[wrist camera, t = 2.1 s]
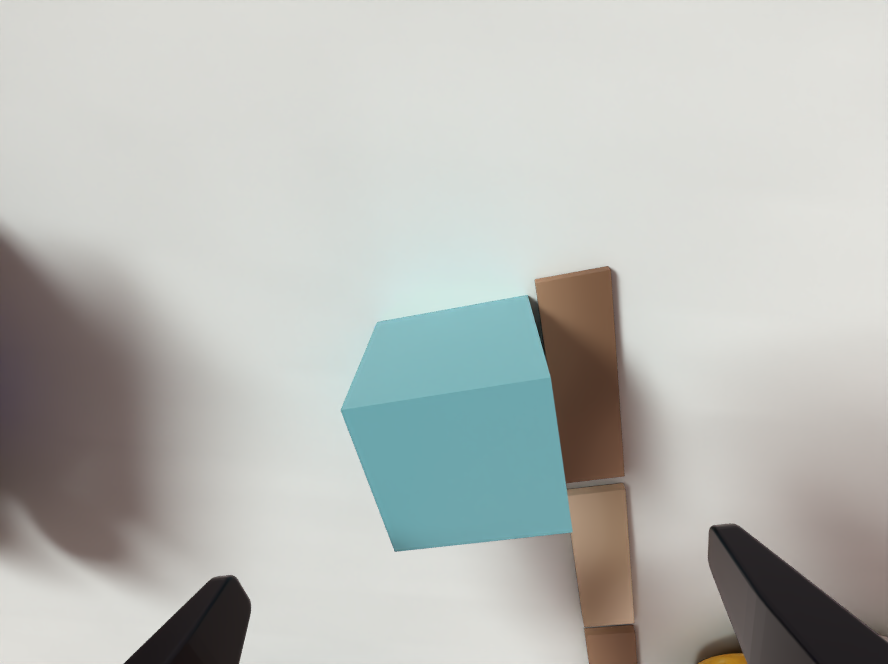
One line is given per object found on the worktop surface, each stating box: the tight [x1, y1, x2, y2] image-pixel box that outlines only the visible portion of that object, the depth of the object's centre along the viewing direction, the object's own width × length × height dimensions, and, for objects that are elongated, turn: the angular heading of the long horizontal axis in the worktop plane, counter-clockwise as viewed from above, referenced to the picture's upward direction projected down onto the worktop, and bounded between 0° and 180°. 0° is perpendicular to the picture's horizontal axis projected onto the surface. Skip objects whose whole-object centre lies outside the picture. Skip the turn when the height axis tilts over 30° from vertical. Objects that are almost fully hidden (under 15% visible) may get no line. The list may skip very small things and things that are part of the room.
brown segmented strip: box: [535, 266, 637, 664], centre depth 18 cm, size 2×23×1 cm, turn 12°
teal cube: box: [341, 295, 573, 552], centre depth 13 cm, size 4×4×4 cm
